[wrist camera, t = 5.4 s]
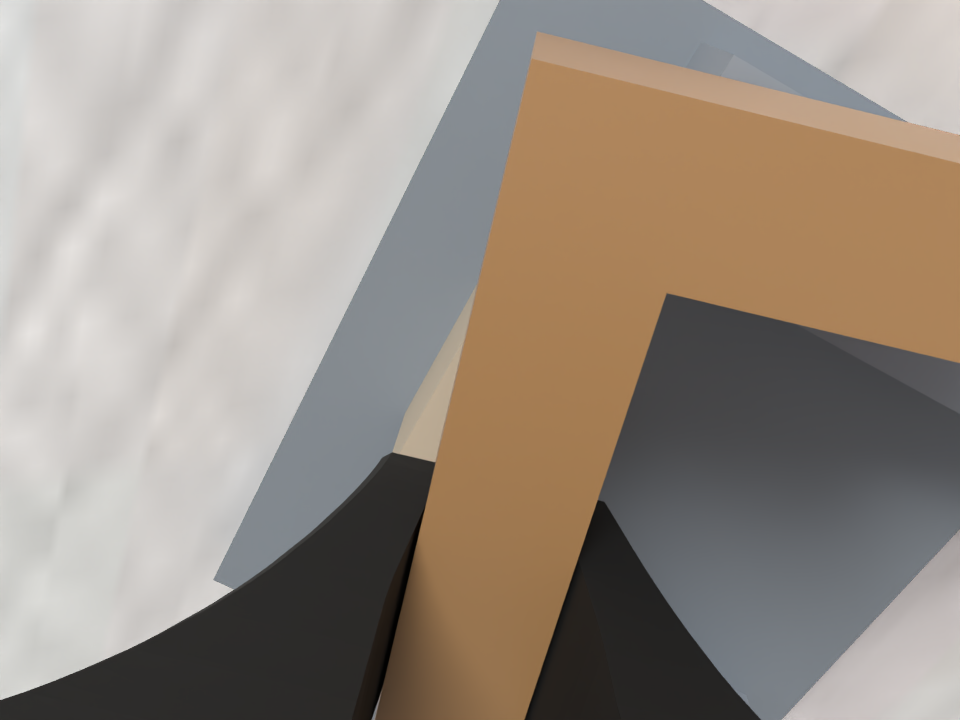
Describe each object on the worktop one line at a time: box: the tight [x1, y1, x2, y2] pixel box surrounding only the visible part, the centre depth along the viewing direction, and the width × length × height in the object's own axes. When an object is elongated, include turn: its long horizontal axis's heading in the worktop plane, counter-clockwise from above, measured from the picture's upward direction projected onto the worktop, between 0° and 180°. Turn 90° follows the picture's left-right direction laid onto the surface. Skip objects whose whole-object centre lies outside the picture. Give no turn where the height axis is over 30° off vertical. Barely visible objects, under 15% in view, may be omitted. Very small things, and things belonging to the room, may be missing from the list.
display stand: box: [214, 0, 960, 720], centre depth 15 cm, size 12×14×4 cm
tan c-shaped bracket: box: [374, 32, 960, 720], centre depth 11 cm, size 7×12×4 cm, turn 167°
